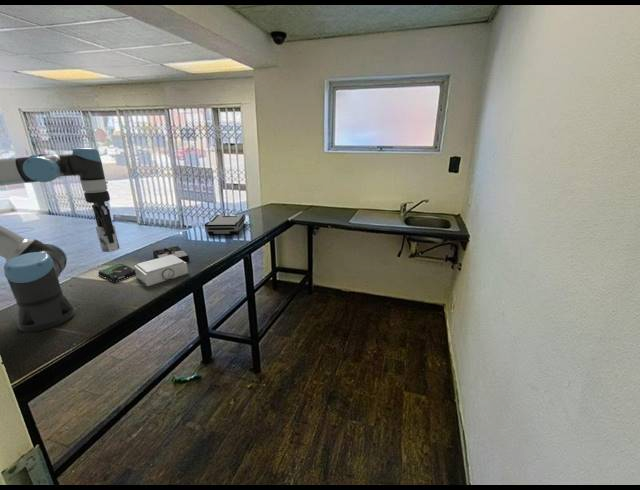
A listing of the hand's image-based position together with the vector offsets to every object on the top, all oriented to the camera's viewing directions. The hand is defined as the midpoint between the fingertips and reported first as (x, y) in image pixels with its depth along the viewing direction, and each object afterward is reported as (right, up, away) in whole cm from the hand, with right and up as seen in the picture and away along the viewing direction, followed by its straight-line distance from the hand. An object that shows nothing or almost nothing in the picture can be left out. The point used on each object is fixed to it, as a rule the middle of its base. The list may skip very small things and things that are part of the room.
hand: (110, 248), depth 118 cm
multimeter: (+5, -7, +39) cm, 40 cm away
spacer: (0, 0, 0) cm, 0 cm away
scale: (+10, -13, +20) cm, 26 cm away
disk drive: (-11, -13, +21) cm, 27 cm away
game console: (+18, +12, +92) cm, 95 cm away
